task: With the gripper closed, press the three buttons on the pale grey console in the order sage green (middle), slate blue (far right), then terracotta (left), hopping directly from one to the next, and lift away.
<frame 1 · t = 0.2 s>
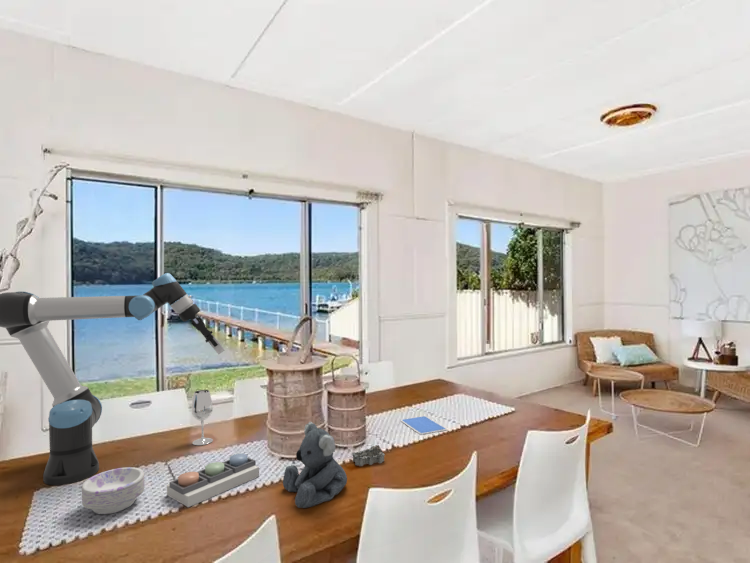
hand: (220, 350, 175), 36 cm above the table, tool tilted 35°, fingers open, 13 cm apart
paper bowls: (114, 506, 124), on the table
tablet computer: (423, 427, 187), on the table
koala plush: (318, 492, 130), on the table
console: (215, 485, 135), on the table
button slate: (238, 459, 142), point 5 cm above the table, slide at 0.0 cm
button sage: (214, 468, 135), point 5 cm above the table, slide at 0.0 cm
wineglass: (202, 442, 173), on the table
egg carton: (368, 462, 151), on the table
button terracotta: (188, 478, 128), point 5 cm above the table, slide at 0.0 cm
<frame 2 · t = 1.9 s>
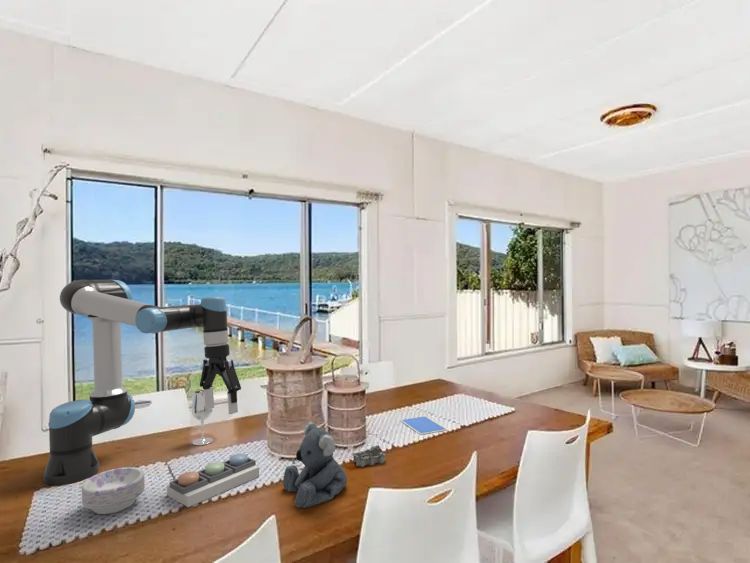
hand: (221, 410, 140), 22 cm above the table, tool pointing down, fingers open, 13 cm apart
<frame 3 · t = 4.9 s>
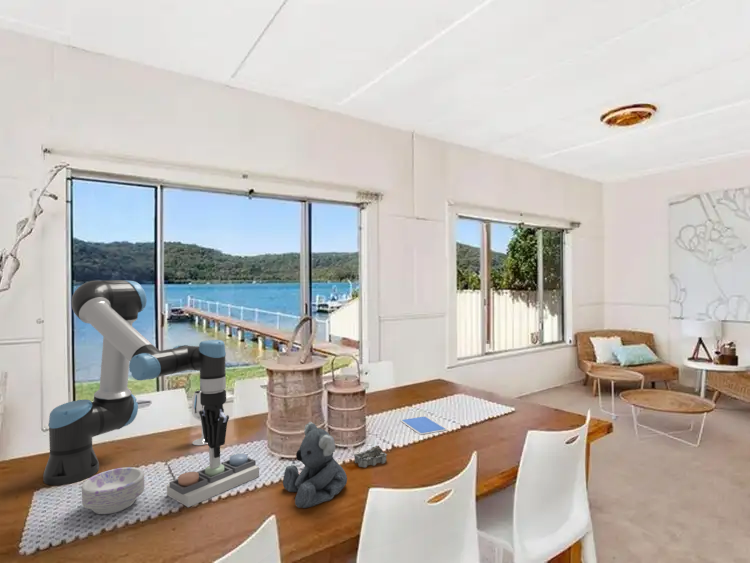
hand: (214, 466, 135), 6 cm above the table, tool pointing down, fingers closed
button sage: (214, 470, 135), point 5 cm above the table, slide at 0.6 cm, touching gripper
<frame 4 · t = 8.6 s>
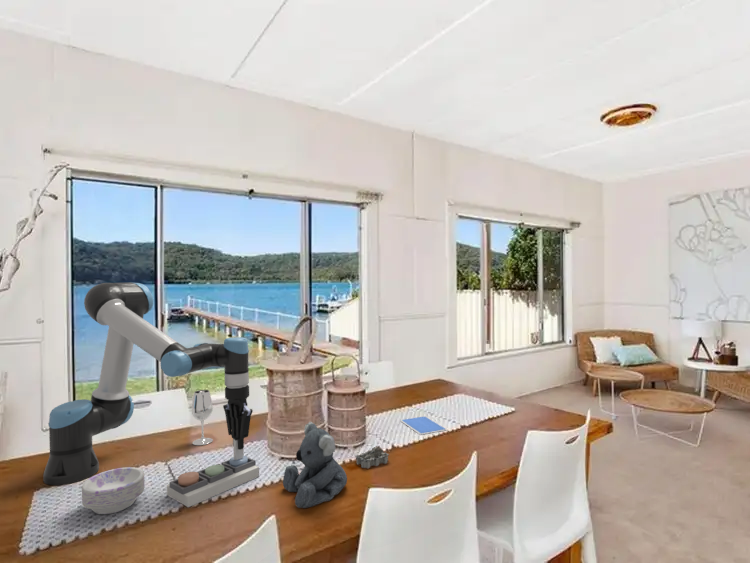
hand: (238, 458, 142), 6 cm above the table, tool pointing down, fingers closed
button slate: (238, 461, 142), point 4 cm above the table, slide at 0.7 cm, touching gripper
button sage: (214, 471, 135), point 4 cm above the table, slide at 0.8 cm
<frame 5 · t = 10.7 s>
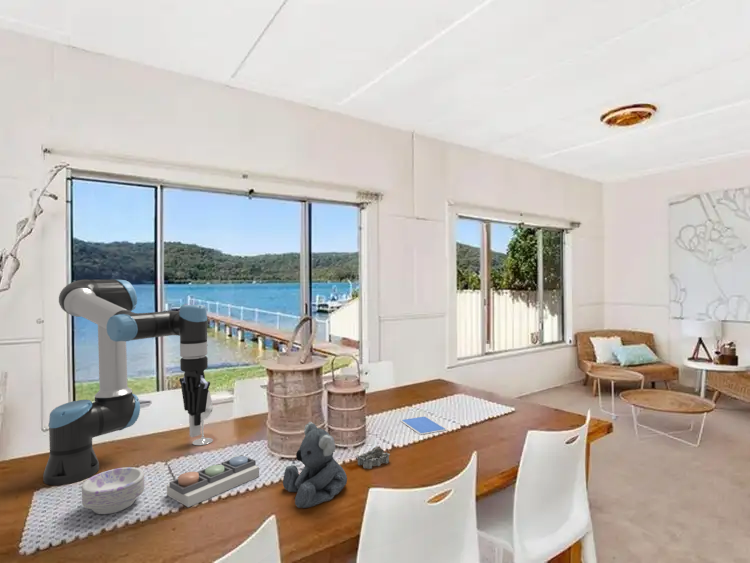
hand: (195, 435, 130), 17 cm above the table, tool pointing down, fingers closed
button slate: (238, 462, 142), point 4 cm above the table, slide at 0.8 cm
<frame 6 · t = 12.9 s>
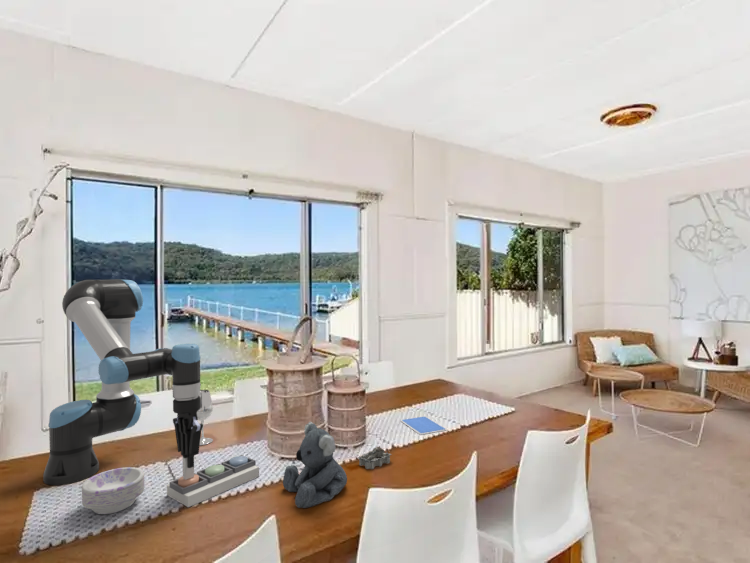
hand: (188, 477, 128), 6 cm above the table, tool pointing down, fingers closed
button terracotta: (188, 481, 128), point 4 cm above the table, slide at 0.8 cm, touching gripper
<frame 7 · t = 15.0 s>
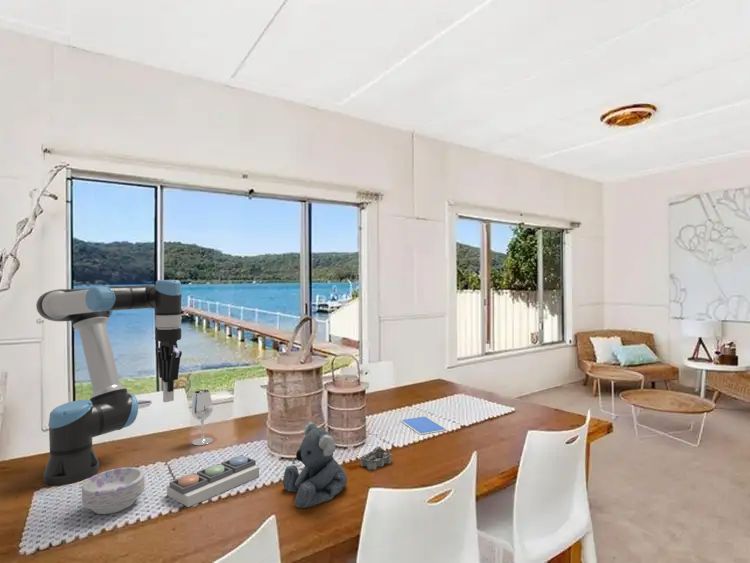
hand: (168, 400, 140), 25 cm above the table, tool pointing down, fingers closed
button terracotta: (188, 481, 128), point 4 cm above the table, slide at 0.8 cm
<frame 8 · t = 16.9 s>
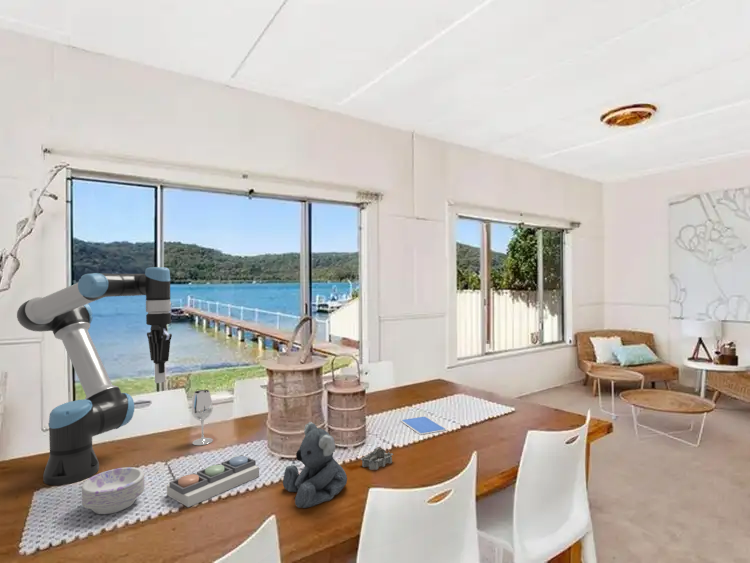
hand: (159, 382, 148), 29 cm above the table, tool pointing down, fingers closed
at the end: button sage slide at 0.8 cm; button slate slide at 0.8 cm; button terracotta slide at 0.8 cm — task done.
